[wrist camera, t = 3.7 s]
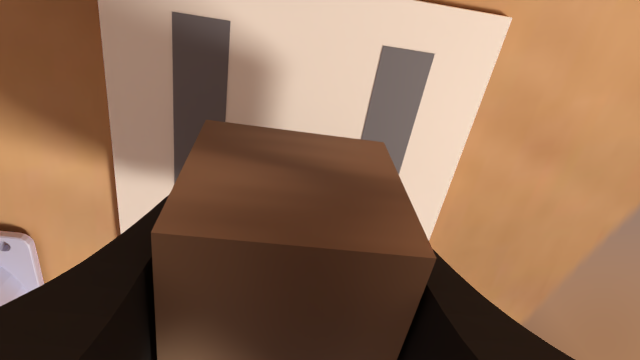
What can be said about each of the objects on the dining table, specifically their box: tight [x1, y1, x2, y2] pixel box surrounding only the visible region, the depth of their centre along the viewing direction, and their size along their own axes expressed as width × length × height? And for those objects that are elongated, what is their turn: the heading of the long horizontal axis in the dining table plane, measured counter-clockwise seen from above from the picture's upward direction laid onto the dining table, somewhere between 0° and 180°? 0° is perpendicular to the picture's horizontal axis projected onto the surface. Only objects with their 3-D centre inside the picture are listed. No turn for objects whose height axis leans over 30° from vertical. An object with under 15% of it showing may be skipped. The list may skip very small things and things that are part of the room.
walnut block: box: [151, 120, 437, 360], centre depth 10 cm, size 5×5×5 cm
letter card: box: [98, 0, 512, 241], centre depth 16 cm, size 13×12×1 cm
